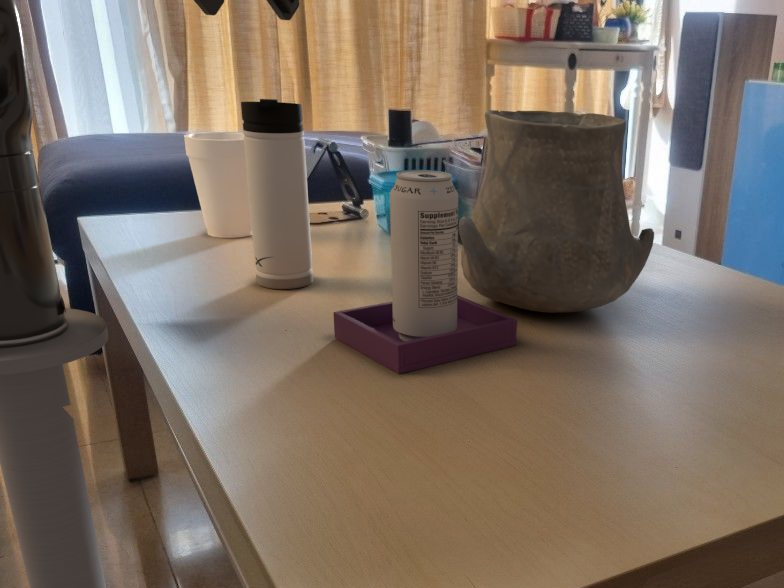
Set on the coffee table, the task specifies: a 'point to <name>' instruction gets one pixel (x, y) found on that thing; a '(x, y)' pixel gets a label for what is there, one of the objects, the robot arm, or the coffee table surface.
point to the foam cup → (221, 181)
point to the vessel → (552, 214)
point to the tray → (383, 344)
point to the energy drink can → (424, 253)
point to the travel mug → (278, 193)
